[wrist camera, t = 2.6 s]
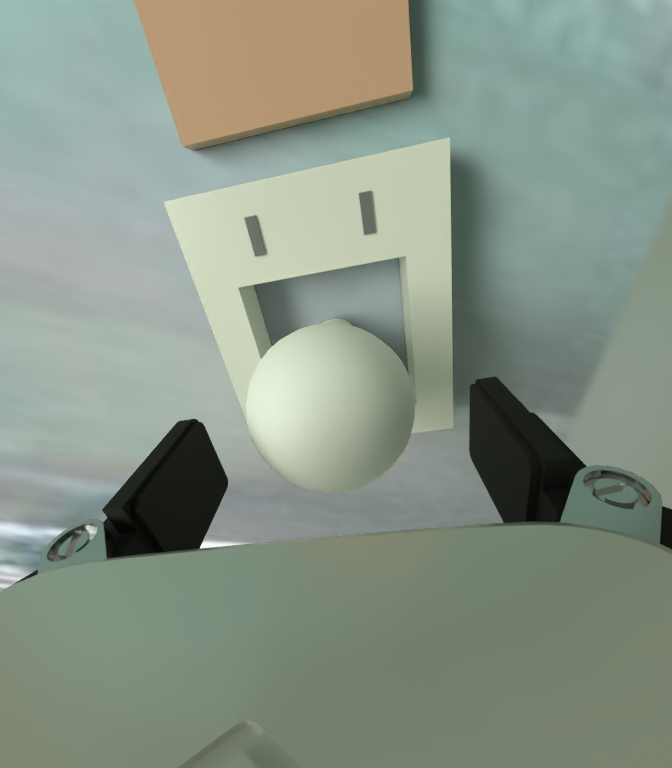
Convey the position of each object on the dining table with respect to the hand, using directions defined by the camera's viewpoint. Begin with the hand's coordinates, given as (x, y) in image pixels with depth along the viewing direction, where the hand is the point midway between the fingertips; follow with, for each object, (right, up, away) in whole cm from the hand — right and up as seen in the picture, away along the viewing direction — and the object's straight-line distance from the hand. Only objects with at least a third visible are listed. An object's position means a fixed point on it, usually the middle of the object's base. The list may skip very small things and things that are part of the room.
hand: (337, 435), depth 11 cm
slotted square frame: (0, +6, +7) cm, 9 cm away
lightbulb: (0, +5, +8) cm, 9 cm away
